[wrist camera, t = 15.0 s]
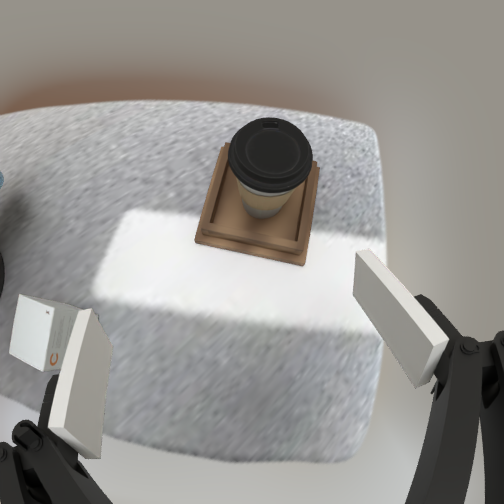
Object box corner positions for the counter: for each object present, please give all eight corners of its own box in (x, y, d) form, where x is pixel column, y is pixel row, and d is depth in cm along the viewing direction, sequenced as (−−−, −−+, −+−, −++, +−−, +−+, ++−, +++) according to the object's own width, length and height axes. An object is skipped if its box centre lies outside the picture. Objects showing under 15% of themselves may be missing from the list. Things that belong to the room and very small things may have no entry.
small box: (67, 303, 43) (18, 291, 30) (100, 314, 43) (55, 307, 30) (57, 351, 41) (7, 353, 28) (89, 365, 41) (43, 373, 28)
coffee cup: (272, 164, 48) (285, 101, 34) (305, 213, 46) (333, 162, 32) (218, 190, 47) (211, 131, 32) (250, 243, 45) (256, 200, 30)
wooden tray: (195, 242, 46) (191, 233, 42) (221, 151, 50) (220, 135, 46) (302, 266, 46) (309, 259, 41) (317, 171, 50) (324, 158, 45)
